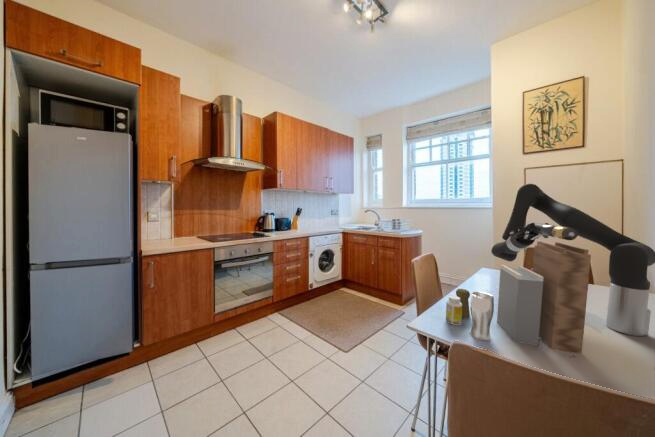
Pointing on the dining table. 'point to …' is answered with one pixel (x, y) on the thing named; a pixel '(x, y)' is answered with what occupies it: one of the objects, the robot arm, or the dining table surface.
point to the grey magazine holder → (520, 304)
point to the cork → (464, 301)
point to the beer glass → (481, 314)
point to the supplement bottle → (454, 310)
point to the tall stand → (562, 294)
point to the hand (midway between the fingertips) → (540, 225)
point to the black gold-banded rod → (555, 231)
